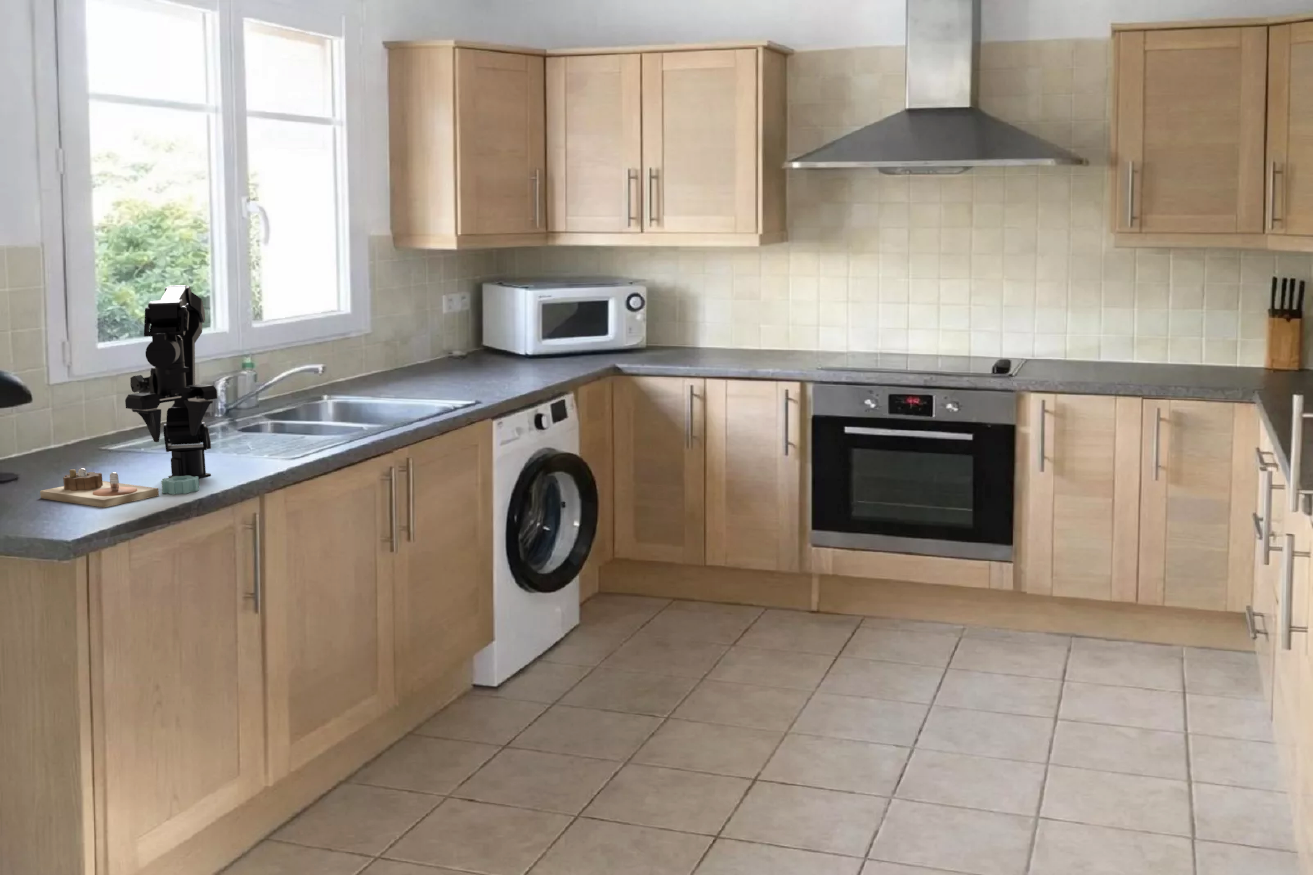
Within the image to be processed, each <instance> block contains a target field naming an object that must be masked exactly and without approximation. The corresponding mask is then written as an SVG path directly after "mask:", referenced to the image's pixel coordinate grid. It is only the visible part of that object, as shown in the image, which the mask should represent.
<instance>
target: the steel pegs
mask: <svg viewBox="0 0 1313 875" xmlns="http://www.w3.org/2000/svg"><path fill="white" fill-rule="evenodd" d="M77 473H78V477H83V476H87V473H88V472H87V470H86V468H84V467H82V468H80V469H78V471H77ZM109 482H110V486H111V490H112V491H118V490H119V483H120V481H119V474H118V473H117V472H114V471H113V472H111V473H109Z"/></svg>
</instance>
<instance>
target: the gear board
mask: <svg viewBox="0 0 1313 875" xmlns="http://www.w3.org/2000/svg"><path fill="white" fill-rule="evenodd" d="M102 482H103V486H101V487H100V488H94V489H91V490H77V491H71V490H65V489H64V485H63V486H58V487H53V488H47V489H43V490H39V492H40V493H39V494H40V499H45V500H51V501H58V502H63V503H71V504H77V505H83V506H84V505H85V506H90V507H91V506H93V507H98V508H99V507H100V508H108V507H114V506H116V505H117V506H118V505H122V504H126V503H130V502H131V503H132V502H136V501H140V500H145V499H149V498H153V497H158V496H160V493H159V492H160V491H159V490H160V489H159V487H153V486H152V487H150V486H143V485H135V484H130V483H121V482H119V490H118V491H112V490H111V486H110V481H105V480H102Z"/></svg>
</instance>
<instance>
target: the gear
mask: <svg viewBox="0 0 1313 875" xmlns="http://www.w3.org/2000/svg"><path fill="white" fill-rule="evenodd" d="M68 470H69V471H68V472H69V474H66V475H64V476H63V477H62V478H63V480H62V481H63V486H64V489H65V490H71V491H77V490H91V489H94V488H100V487H101V486H103V482H102V481H103V473H102V472H95V471H90V472H87V476H83V477H78V472H77V469H75V468H74V469H68Z"/></svg>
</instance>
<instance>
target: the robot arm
mask: <svg viewBox="0 0 1313 875" xmlns="http://www.w3.org/2000/svg"><path fill="white" fill-rule="evenodd" d="M143 322H144V326H143V328H144V329H143V337H151V340H152V341H150V342H149V344H148V345H147V347H146V349H145V358H146V361H147V362H148V363H149V364H150V365H151V366H153V367H151V368H150V376H147V377H144V376H143V375H141V374H138V375H137V374H136V375H133V376H131V377H130V379H129V380H130V388H131V391H132V392H133V393H130V394H129V393H128V395H127V396H126V398H125V400H124V401H125V409H129V410H131V411H132V413H137V414H138V415H139V416H140V417H141V418H142V420H143V421H144V423H145V425H146V428H147V429H148V431H149V434H150V435H151V438H152V440H153V442H155V443H159V442H160V440H161V439H160V438H161V425H162V424H161V422H162V409H160V408H158V407H159V406H160V404H164V403H169V402H174V403H173V404H172V405H171V407H168V408H167V411H166V417H165V420H166V422H165V423H164V424H163V439H164V447H165V452H166V453H169V452H171V457H170V468H171V469H170V472H171V475H168V476H167V478H171V477H173V476H186V475H188V476H193V477H195V476H197V477H199V479H202V478H207V477H211V476H212V473H208V472H207V470H206V469H207V468H206V456H205V451H207V450H210V449H212V441H211V435H210V429H209V428H208V427H207V425H206V422H205V421H204V416H205V415H206V413H207V410H208V408H209V407H210V406H211V404H213V403H214V402H213V400H216V399H218V390H217V388H216V387H215V385H213V384H202V383H201V384H200V383H198V384H196V345H195V344H196V342H197V340H198V339H199V337H200V336H201V335H202V333H203V324H205V322H206V313H205V306H204V303H203V299H202V297H200V296H198V295H197V294H195V293H194V292H192V289H191V286H189V285H185V284H182V285H181V284H179V285H168V286H165V287H164V293H163V295H162V296H161V298H160V299H156V300H150V301H149V302H148V304H147V306H146V307H145V308H144V321H143Z"/></svg>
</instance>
